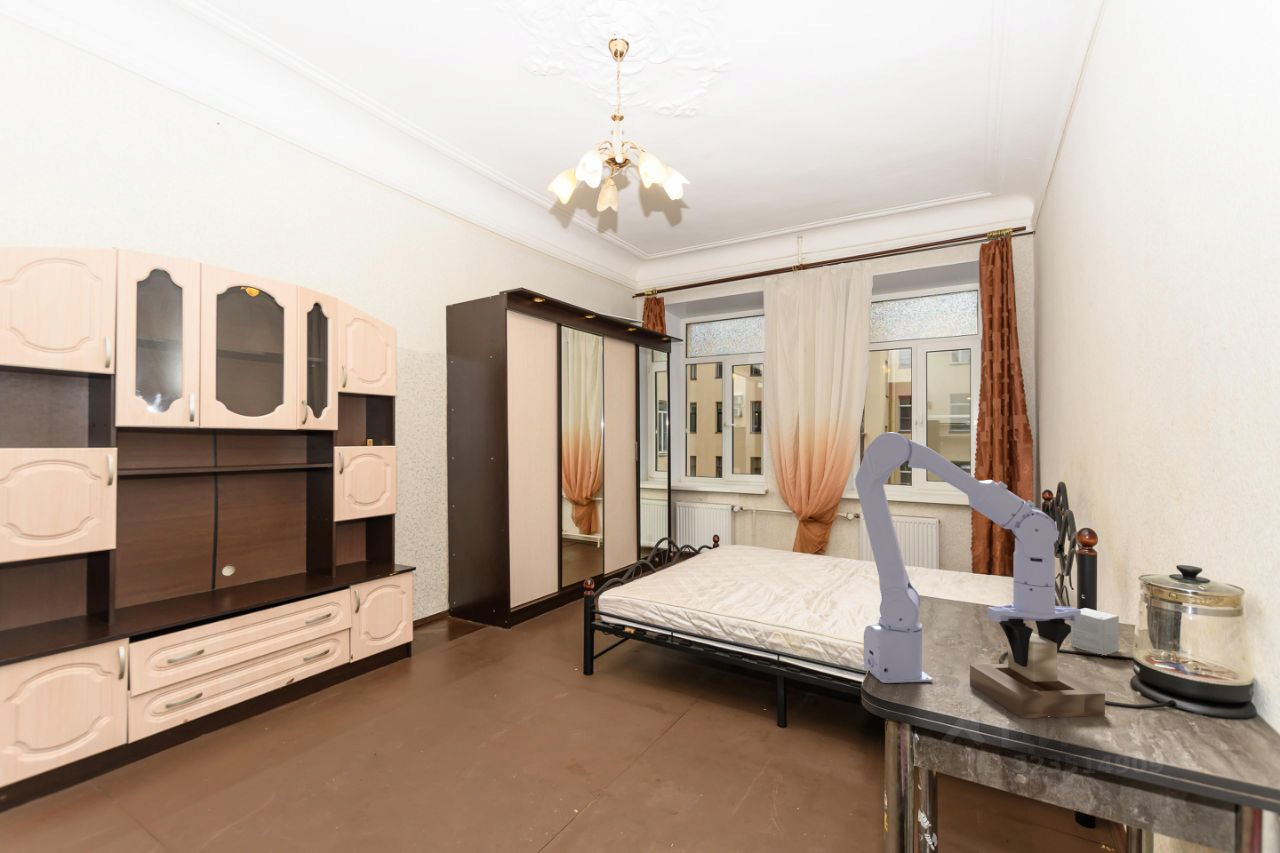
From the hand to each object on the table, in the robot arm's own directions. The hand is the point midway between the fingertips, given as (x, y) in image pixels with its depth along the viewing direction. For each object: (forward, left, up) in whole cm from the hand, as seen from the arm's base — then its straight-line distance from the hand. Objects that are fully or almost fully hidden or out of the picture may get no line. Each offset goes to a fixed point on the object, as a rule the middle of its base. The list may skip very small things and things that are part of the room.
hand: (1033, 664), depth 95 cm
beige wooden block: (0, 0, -2) cm, 2 cm away
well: (0, 0, -6) cm, 6 cm away
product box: (+30, +20, -6) cm, 37 cm away
